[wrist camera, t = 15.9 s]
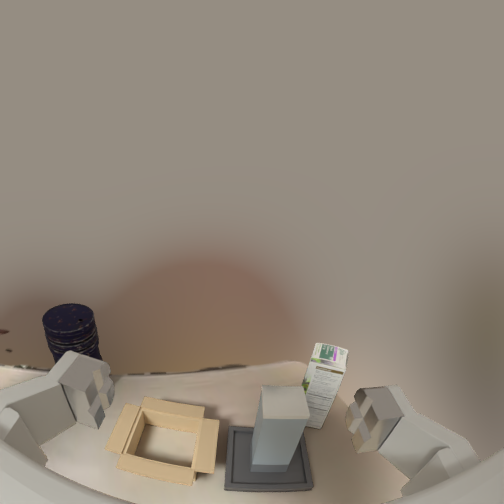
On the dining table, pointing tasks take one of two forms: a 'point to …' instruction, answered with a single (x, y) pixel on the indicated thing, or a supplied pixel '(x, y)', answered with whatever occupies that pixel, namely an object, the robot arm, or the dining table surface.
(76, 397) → the robot arm
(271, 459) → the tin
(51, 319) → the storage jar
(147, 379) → the dining table surface
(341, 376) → the syrup box
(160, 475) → the carton
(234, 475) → the tray
